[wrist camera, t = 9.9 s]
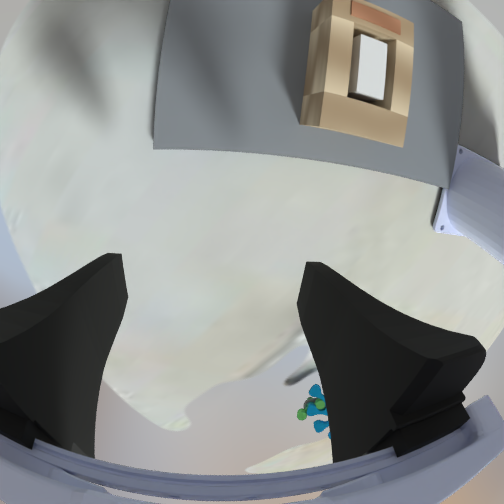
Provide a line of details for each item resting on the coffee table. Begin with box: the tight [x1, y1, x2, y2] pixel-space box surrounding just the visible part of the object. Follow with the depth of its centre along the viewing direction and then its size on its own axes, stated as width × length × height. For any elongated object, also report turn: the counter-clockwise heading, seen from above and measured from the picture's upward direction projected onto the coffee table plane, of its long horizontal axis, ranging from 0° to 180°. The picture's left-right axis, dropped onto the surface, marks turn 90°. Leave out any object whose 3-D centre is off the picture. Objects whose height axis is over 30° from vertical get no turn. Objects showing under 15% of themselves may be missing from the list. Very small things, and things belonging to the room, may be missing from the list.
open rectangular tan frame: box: [299, 0, 414, 148], centre depth 12 cm, size 8×5×4 cm, turn 174°
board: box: [153, 0, 464, 189], centre depth 11 cm, size 22×16×4 cm
